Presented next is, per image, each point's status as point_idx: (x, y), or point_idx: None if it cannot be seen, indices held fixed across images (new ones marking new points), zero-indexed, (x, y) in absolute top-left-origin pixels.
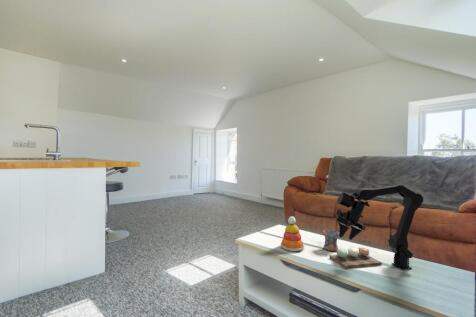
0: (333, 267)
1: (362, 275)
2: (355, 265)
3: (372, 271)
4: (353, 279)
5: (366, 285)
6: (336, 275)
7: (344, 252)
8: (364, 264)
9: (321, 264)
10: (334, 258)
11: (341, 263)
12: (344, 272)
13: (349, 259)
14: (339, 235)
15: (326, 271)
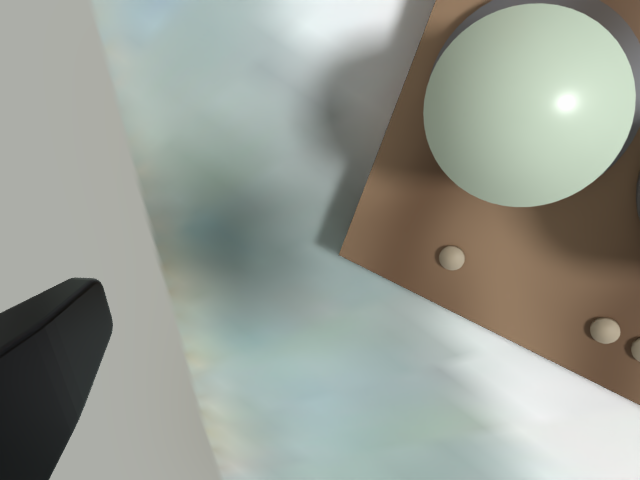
0: (262, 141)
1: (360, 410)
2: (475, 319)
3: (555, 465)
4: (223, 375)
5: (229, 467)
6: (157, 251)
7: (482, 181)
8: (620, 391)
9: (205, 6)
10: (426, 28)
11: (366, 182)
12: (265, 272)
13: (602, 191)
14: (44, 299)
15: (135, 152)
